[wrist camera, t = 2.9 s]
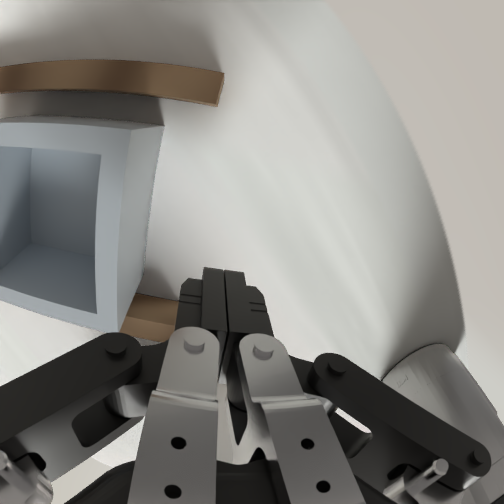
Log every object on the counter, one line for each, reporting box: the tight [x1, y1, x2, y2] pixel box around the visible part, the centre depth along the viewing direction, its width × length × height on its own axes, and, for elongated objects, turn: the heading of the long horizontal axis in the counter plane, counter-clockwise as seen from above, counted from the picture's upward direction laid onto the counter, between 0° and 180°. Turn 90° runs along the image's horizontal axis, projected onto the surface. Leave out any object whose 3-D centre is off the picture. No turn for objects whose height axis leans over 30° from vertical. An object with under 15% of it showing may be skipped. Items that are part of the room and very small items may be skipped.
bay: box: [0, 60, 224, 342], centre depth 13 cm, size 22×15×2 cm
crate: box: [0, 115, 164, 333], centre depth 12 cm, size 9×9×6 cm
